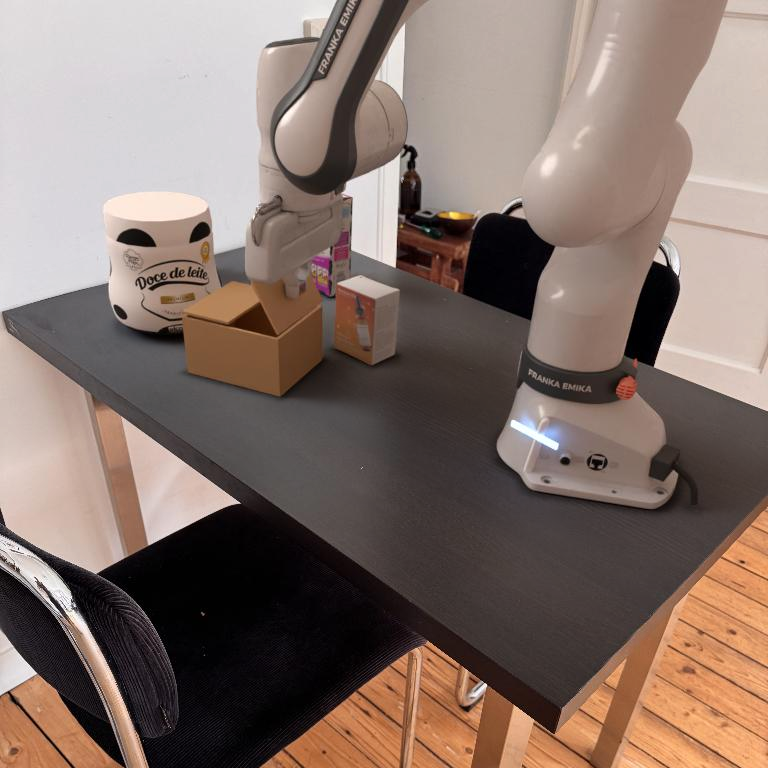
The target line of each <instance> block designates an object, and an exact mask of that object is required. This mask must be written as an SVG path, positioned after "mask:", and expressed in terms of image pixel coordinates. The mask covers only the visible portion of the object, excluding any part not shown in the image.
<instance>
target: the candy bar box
mask: <svg viewBox="0 0 768 768" xmlns="http://www.w3.org/2000/svg"><path fill="white" fill-rule="evenodd" d="M342 195H343V220H342V231H341V235H340V238H339V240H338V242H337V243H336V244H334V245H333V246H331V247H329V248H328V249H326V250H325V251H323V252H322V253H320V254H319V255H317V256H316V257H314V258H313V259H312V267H311V270H310V274H311V276H312V279H313V281H314V283H315V285H316V287H317V289H318V291H319V293H320V294H322V295H325V296H327V297H329V298H333V297H336V284H337V283H339V282H342V281H345V280H348V279H350V278H351V269H352V267H351V265H352V241H353V240H352V238H353V237H352V236H353V233H352V232H353V204H354V202H353V199H354V197H353V196H350V195H347V194H345V193H342Z"/></svg>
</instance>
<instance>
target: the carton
mask: <svg viewBox="0 0 768 768" xmlns="http://www.w3.org/2000/svg"><path fill="white" fill-rule="evenodd" d="M182 314H185V315H184V316H182V323H183V332H184V333H183V339H184V340H183V341H184V348H185V349H184V350H185V359H186V367H187V373H188V374H191V375H196V376H199V377H204V378H207V379H211V380H214V381H217V382H222V383H226V384H230V385H234V386H237V387H242V388H245V389H248V390H252V391H253V390H254V391H257V392H260V393H264V394H267V395H272V396H276V397H279V398H280V397H282V396H283V395H284V394H285V393H287V391H288V390H290V389H291V388H292V387H293V386H294V385H295V384H296V383H298V382H299V381H300V380H301V379H302V378H303V377H304V376H306V375H307V374H308V373H309V372H311V370H313V369H314V368H315V367H316V366H317V365H318V364H319V363H320V362H322V361H323V305H320V304H319V305H317V306H316V307H315V308H313V309H312V310H311V311H309V312H308V313H307V314H305V315H304V316H303V317H301V318H300V319H299V320H297V321H296V322H295V323H293V324H292V325H291V326H289V327H288V328H287V329H285V330H284V331H283V332H282V333H280V334H279V335H277V334H276V332H275V330H274V328H273V326H272V324H271V322H270V320H269V318H268V316H267V314H266V312H265V311H264V309H263V307H262V305H261V303H260V301H259V299H258V297H257V295H256V293H255V291H254V289H253V287H252V285H251V284H248V283H243V282H240V281H239V282H238V281H235V280H231V281H230V282H228V283H226V284H225V285H222V287H221V288H220V289H218V290H216V291H215V292H213V293H211V294H210V295H208V296H206V297H205V298H203V299H201V300H200V301H198V302H196V303H195V304H193V305H191V306H190V307H188V308H186V309H184V310H183V311H182Z"/></svg>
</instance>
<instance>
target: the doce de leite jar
mask: <svg viewBox="0 0 768 768" xmlns="http://www.w3.org/2000/svg"><path fill="white" fill-rule="evenodd" d="M102 206H103V207H102V212H103V213H102V216H103V223H104V231H105V241H106V246H107V251H108V257H109V264H110V265H109V267H110V271H109V278H108V279H109V280H108V299H109V302H110V306H111V309H112V311H113V314H114V316H115V317H116V319H117V321H119V322H120V323H121V324H122V325H123V326H125V327H127V328H128V329H131V330H133V331H137V332H138V333H142V334H149V335H156V336H176V335H182V334H184V332H183V323H182V316H184V315H185V314H182V311H183V310H184V309H186V308H188V307H190V306H191V305H193V304H195V303H196V302H198V301H200V300H201V299H203V298H205V297H206V296H208V295H210V294H211V293H213V292H215V291H216V290H218V289H220V288H221V287H223V283H222V279H221V276H220V274H219V271H218V268H217V264H216V259H215V248H214V247H215V246H214V244H215V243H214V232H213V220H212V215H211V209H210V206H209V203H207V200H204V199H203V198H201V197H199V196H197V195H192V194H189V193H185V192H177V191H176V192H175V191H160V190H159V191H153V190H151V191H140V192H131V193H127V194H126V193H125V194H122V195H121V194H120V195H117V196H116V197H113V198H110V199H108V200H107V201H106V202H105V203H104V204H103V205H102Z"/></svg>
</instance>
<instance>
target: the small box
mask: <svg viewBox="0 0 768 768" xmlns="http://www.w3.org/2000/svg"><path fill="white" fill-rule="evenodd" d="M400 295H401V290H400V289H399V288H396V287H392V286H390V285H386V284H384V283H381V282H379V281H376V280H373V279H371V278H368V277H366V276H364V275H362V274H360V275H357V276H354V277H350V279H348V280H345V281H342V282H339V283H337V284H336V296H335V302H334V304H335V305H334V333H333V334H334V335H333V336H334V337H333V348H334V349H335V350H338V351H340V352H343V353H344V354H347V355H349V356H351V357H353V358H356V359H357V360H359V361H362V362H363V363H366V365H368V366H373V365H376V364H378V363H380V362H382V361H384V360H386V359H389V358H391V357H393V356H394V355H395V354H396V346H397V345H396V343H397V333H398V320H399V319H398V318H399V308H400V307H399V306H400Z"/></svg>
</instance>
